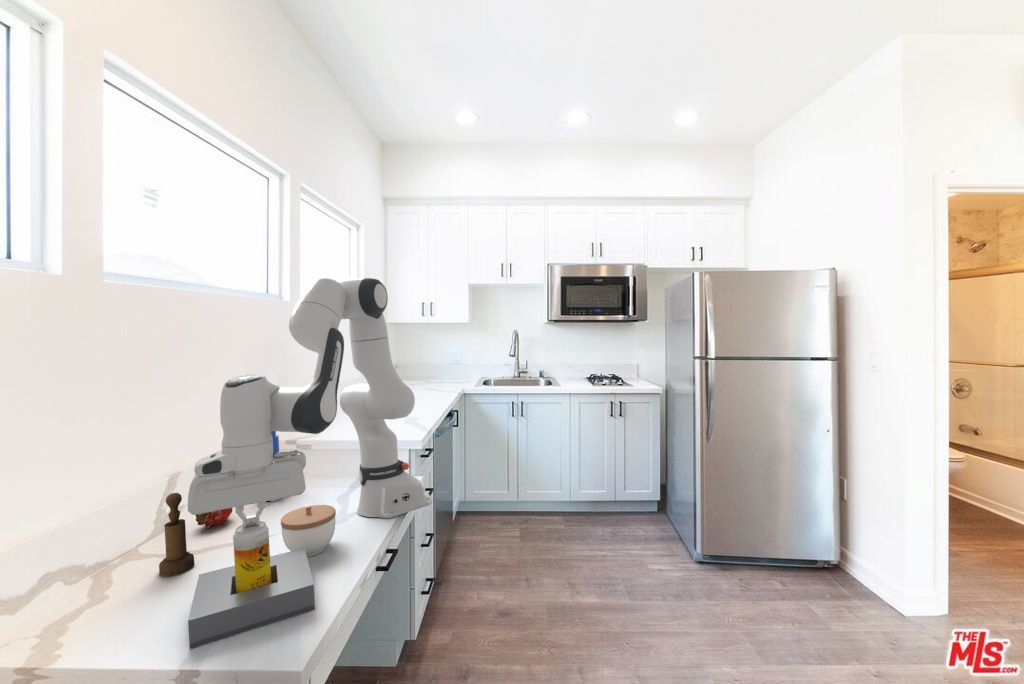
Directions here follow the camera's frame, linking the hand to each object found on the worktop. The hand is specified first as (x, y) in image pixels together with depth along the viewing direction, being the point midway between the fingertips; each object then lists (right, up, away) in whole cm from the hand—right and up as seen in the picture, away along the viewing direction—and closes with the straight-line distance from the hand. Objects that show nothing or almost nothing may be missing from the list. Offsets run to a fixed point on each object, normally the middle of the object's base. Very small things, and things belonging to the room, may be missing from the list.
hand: (251, 525), depth 89 cm
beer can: (+1, -15, 0) cm, 15 cm away
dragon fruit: (-35, -17, +41) cm, 56 cm away
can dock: (+1, -16, 0) cm, 16 cm away
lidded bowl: (+1, -16, +23) cm, 28 cm away
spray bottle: (-30, -17, +63) cm, 71 cm away
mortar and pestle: (-27, -17, +16) cm, 35 cm away
